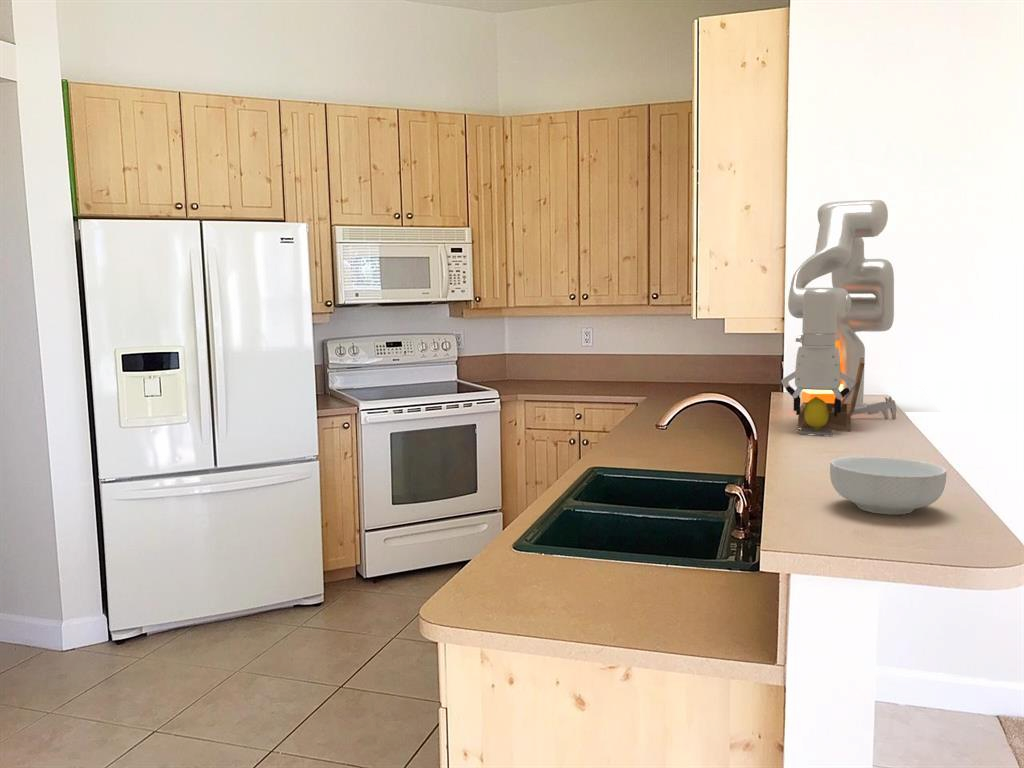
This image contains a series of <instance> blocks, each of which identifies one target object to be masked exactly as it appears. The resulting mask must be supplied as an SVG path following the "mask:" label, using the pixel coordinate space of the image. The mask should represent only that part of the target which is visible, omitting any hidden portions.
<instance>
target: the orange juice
mask: <svg viewBox="0 0 1024 768" xmlns="http://www.w3.org/2000/svg"><path fill="white" fill-rule="evenodd" d="M836 347H838V348H839V352H840V361H841V372H842V373H843V370H844V362H843V357H842V353H841V348H840V343H839V341H836ZM838 389H839V391H840V392H841V391H842V390H843V380H842V379H841V383H840V387H839V388H838ZM814 397H818V398H819V399H821V400H823V401H824V402H825V403H834V400H835V398H836V396H835V394H834V393H833V391H832V390H811V389H803V390H802V391H801V403H802V402H808V401H810V400H811V399H813V398H814ZM842 399H843V398H842ZM842 399H841V401H842Z"/></svg>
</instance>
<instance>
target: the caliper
mask: <svg viewBox="0 0 1024 768" xmlns="http://www.w3.org/2000/svg"><path fill="white" fill-rule="evenodd" d="M884 400H885V401H879V402H873V403H870V404H869V403H868V404H867V406H866V407H861V408H855V409H854V412H853V413H851V416H854V415H855V416H856V415H860V414H865V413H868V415H874V414H878V413H880V412H881V413H882V415H883V417H884V419H885V420H890V418H889V412H888V409H890V412H891V413H890V414H891V418H892V419H893V420H896V419H897V405H896V401H895V400H893V398H892V396H891V395H890V396H889V397H884Z"/></svg>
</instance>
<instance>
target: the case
mask: <svg viewBox="0 0 1024 768" xmlns="http://www.w3.org/2000/svg"><path fill="white" fill-rule="evenodd" d="M865 364H866V363H865V362H864V358H860V363H859V367H858V372H857V376H856V381H855V385H854V386H853V388H852V389H851V390H850V391H849V393H848V394H846V395H845V397H844V398H843V399H842V401H841V413H837V416H834V403H826V404H827V407H828V411H829V417H828V421H827V423H826V424H825V425H824V426H822V427H820V429H832V430H835V431H834V432H851V429H852V424H851V423H852V415H851V413H853V412H854V409H855V405H856V400H857V396H858V391H859V387H860V382H861V378H862V373H863V369H864V370H865ZM853 389H854V390H853ZM852 390H853V394H852V399H851V402H850V404H844V402H845V400H846V399H847V398H848V396H849V395H850V393H851V392H852ZM806 404H807V402H802V401H801V404H800V414H799V415H797V416H798V422H797V423H798V424H797V425H798V426H797V429H798V428H813V427H811V426H810V425H808V423H807V422H806V420H805V417H804V410H805V406H806Z"/></svg>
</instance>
